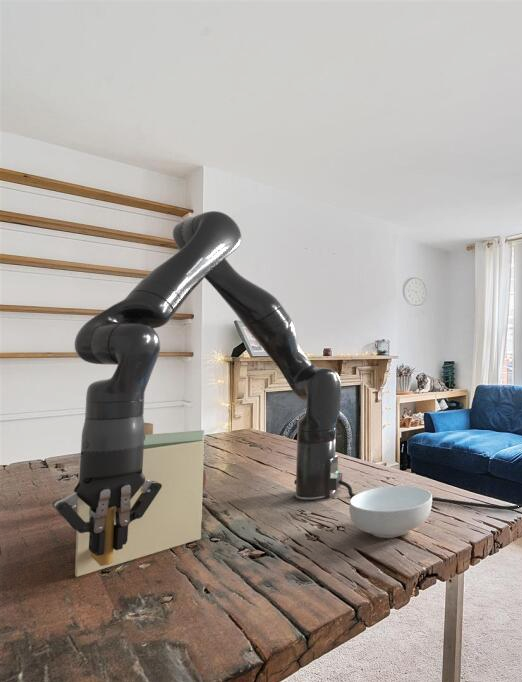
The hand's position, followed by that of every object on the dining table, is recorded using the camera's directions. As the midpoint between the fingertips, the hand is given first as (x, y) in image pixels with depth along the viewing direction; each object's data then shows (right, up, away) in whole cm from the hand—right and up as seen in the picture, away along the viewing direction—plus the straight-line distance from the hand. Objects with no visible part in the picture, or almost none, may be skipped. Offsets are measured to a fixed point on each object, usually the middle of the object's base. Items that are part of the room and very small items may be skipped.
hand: (107, 550), depth 69 cm
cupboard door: (+1, -5, +7) cm, 9 cm away
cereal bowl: (+40, -6, +21) cm, 46 cm away
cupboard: (-8, -5, +16) cm, 19 cm away
